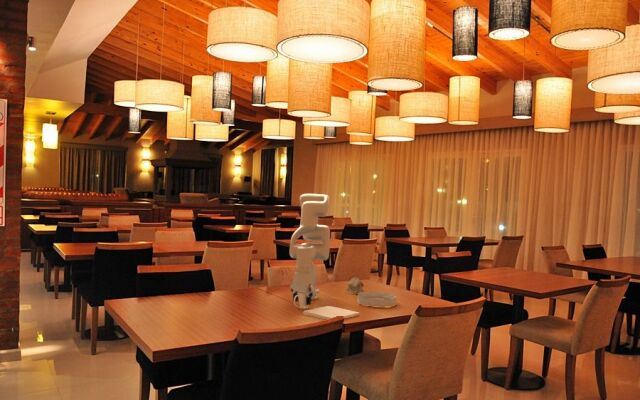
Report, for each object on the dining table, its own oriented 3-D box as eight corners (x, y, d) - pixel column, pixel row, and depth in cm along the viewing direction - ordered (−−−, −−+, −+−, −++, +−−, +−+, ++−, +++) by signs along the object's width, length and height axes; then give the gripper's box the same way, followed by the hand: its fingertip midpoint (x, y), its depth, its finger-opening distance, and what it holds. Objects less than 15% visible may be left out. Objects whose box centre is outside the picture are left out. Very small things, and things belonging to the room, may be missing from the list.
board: (328, 308, 275) (328, 305, 275) (359, 315, 262) (359, 312, 262) (303, 314, 260) (303, 311, 260) (334, 321, 247) (334, 318, 247)
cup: (313, 308, 274) (313, 293, 274) (297, 310, 268) (298, 294, 268) (305, 305, 280) (306, 290, 280) (289, 307, 274) (290, 292, 274)
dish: (373, 298, 310) (374, 290, 309) (404, 305, 294) (404, 296, 294) (348, 302, 294) (349, 294, 294) (379, 310, 278) (379, 300, 278)
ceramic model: (342, 291, 328) (343, 275, 328) (357, 290, 333) (358, 274, 333) (354, 295, 315) (354, 279, 315) (369, 294, 321) (370, 278, 320)
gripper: (286, 268, 276) (284, 301, 276) (311, 272, 265) (309, 306, 265) (295, 267, 282) (294, 299, 282) (320, 271, 271) (319, 305, 271)
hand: (301, 303), depth 274 cm, fingers open, 8 cm apart
